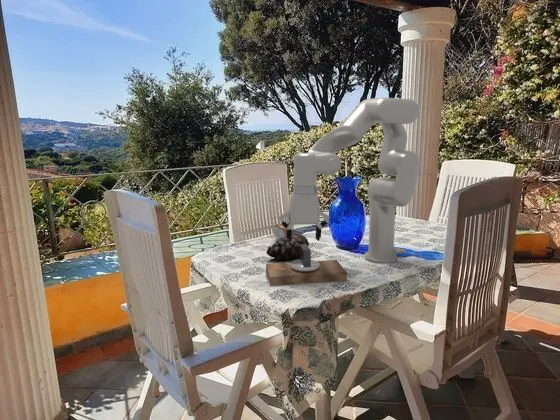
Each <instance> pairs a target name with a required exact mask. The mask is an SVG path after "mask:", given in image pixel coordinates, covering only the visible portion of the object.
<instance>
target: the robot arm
mask: <svg viewBox="0 0 560 420" xmlns="http://www.w3.org/2000/svg"><path fill="white" fill-rule="evenodd" d="M419 115H420V107H419V104H418V103H417V101H415V100H414V99H412V98H411V99H410V98H396V97H395V98H394V97H393V98H392V97H374V98H367V99H363V100H362V101H360V103H358V105H357V106H356V107H355V108H354V109H353V111H352V112H351V113H350V114H349V115H348V116H347V117H346V118H345V120H344V121H343V122H342V123H341V124H340V125H339V126H338V127H335V128H334V129H333V130H331V131H330V132H328V133H326V134H325V135H323V136H322V137H321V138H319V139H318V140H317V141H316V142H315V143H314V144H313V145H312V146H311V148H310V149H309V150H308V151H307V152H297V153H296V154H295V155H294V157H293V159H294V160H293V193H291V194H290V197H289V198H290V199H289V206H288V210H287V211H286V212H284V213H283V214H280V215H278V219H279V221H280V224H282V225H283V226H284V227H285V228H286V229H287V233H286V237H287V238H288V240H289V242H290V241H292V233H293V230H292V228H293V227H294V225H316V227H315V240H316V241H317V242H320V239H321V238H322V229H323V228H324V227H325V226H326V225H327V224H328V221H329V219H330V216H329V214H327V213H325V212H322V211H321V209H320V199H319V195H318V192H319V191H321V186H318V185H317V179H318V178H317V176H318V175H325V176H332V175H335V174H336V173H338V172H339V170H340V169H341V166H342V161H341V159H340V157H339V155H337V154H336V153H335V152H337V151H339V150H342V149H345V148H348V147H351V146H353V145H355V144H357V143H359V142H360V141H361V139H362V138H363V137H364V136H365V135H366V133H367V132H368V131H369V130H370V128H372V126H373V125H375V124H380V126H381V127H382V131H383V142H382V147H381V150H380V152H379V153H380V154H379V158H378V163H377V168H378V170H379V172H380V173H381V174H384V175H388V176H394V177H395V179H393V178H387V177H376V178H374V179H372V180H371V181H370V182H369V184H368V187H367V198H368V203H369V220H368V221H369V224H368V251H367V252H364V254H363V258H364V259H365V260H367V261H369V262H372V263H379V264H389V263H394V262H396V261H397V260H398V254H406V252H407V251H406V248H405V247H404V248H400V247H398V246H397V247H395V246H394V245H395V226H396V225H395V224H396V212H395V207H400V208H401V207H406V206H407V205H408V204H410V202H411V201H412V200H413V196H414V193H415V189H416V184H417V182H418V178H419V173H420V167H421V162H420V161H421V160H420V158H419V156H418V155H417V153H416V152H413V151H411V150H406V148H407V142H408V133H407V131H406V129H405V126H404V125H409V124H412V123H414V122H415V121H416V120H417V119H418V117H419ZM321 217H323V220H322V221H321V222H320V219H321ZM286 218H288V222H287V223H286V221H285V219H286Z"/></svg>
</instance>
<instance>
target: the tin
mask: <svg viewBox="0 0 560 420" xmlns="http://www.w3.org/2000/svg"><path fill="white" fill-rule="evenodd" d="M274 225H275V224H274ZM273 230H274V237H275V240H276V241H277V240H278V239H280V238H282V237H284V236H286V233H287V229H286V228H285V227H284V226H283V225H282V223H279V224H276V225H275V226H274V228H273Z"/></svg>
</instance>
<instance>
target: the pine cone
mask: <svg viewBox="0 0 560 420" xmlns="http://www.w3.org/2000/svg"><path fill="white" fill-rule="evenodd" d="M300 244H307V245H308V247H309V245H310V242H309V241H308V238H307V236H306V235H303V233H300V232H296V231H294V232H293V231H292V241H290V242H289V240H288V238H287V237H286V236H284V237H282V238H280V239H278V240H276V242H273V244H272V245H268V247H267V250H266V254H267V256H269V257H270V258H271V259H270V260H268V262H273V263H289V262H293V261H295V260H300Z"/></svg>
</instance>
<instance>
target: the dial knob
mask: <svg viewBox="0 0 560 420" xmlns="http://www.w3.org/2000/svg"><path fill="white" fill-rule="evenodd" d="M317 261H318V260H314V259H312V251H311V248H310V247H309V246H308V245H307V244H300V259H296V260H293V261H290V263H291V269H293V270H295V271H298V272H313V271H316V270H318V269H319V268H320V263H319V262H317Z"/></svg>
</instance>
